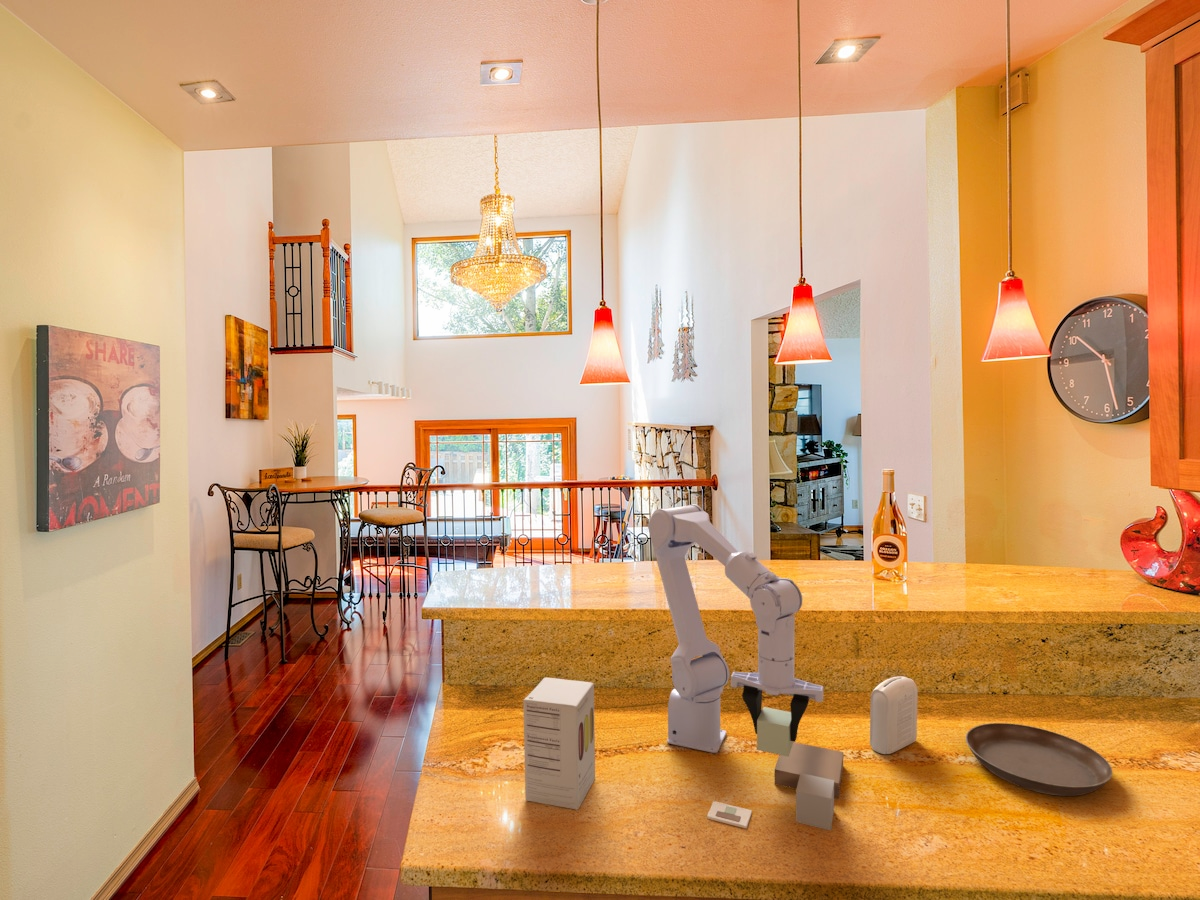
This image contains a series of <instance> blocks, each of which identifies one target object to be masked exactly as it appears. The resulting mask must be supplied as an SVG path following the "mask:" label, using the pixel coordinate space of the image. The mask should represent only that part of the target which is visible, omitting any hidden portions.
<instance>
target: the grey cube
mask: <svg viewBox="0 0 1200 900" xmlns="http://www.w3.org/2000/svg"><path fill="white" fill-rule="evenodd" d="M834 810H835V798H834V780H830V779H826V778H821V777H817V776H812V775H807V774H803V773H800V777H799V781H798V785H797V789H795V822H796V823H798V824H799V823H800V824H804V825H806V826H807V825H808V826H810V827H816V828H820V829H823V830H828V831H832V828H833V827H832V826H833V819H834V812H835V811H834Z"/></svg>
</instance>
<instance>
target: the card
mask: <svg viewBox="0 0 1200 900" xmlns="http://www.w3.org/2000/svg"><path fill="white" fill-rule="evenodd" d="M752 814H753V810H751V809H747V808H743V807H739V806H735V805H733V804H732V805H731V804H728V803H724V802H718V801H715V800H713V801H712V803H711V807H710V808H709V811H708V813H707V815H706V819H707V820H712V821H716V822H718V823H719V822H720V823H723V824H728V825H731V826H733V827H734V826H735V827H739V828H742V829H748V826H749V823H750V820H751V817H752Z"/></svg>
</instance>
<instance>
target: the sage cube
mask: <svg viewBox="0 0 1200 900" xmlns="http://www.w3.org/2000/svg"><path fill="white" fill-rule="evenodd" d="M790 735H791V711H787V710H782V709H776V708H771V707H768V706H763V708H761V713H760V715H759V717H758V719H757V734H756V751H757V750H758V751H761V752H766V753H769V754H770V753H771V754H775V755H778V756H779V755H783V756H787V757H789V754H790V751H791V748H792V745H793V742H794V741H791V737H790Z"/></svg>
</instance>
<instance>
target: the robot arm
mask: <svg viewBox="0 0 1200 900" xmlns="http://www.w3.org/2000/svg"><path fill="white" fill-rule="evenodd" d="M710 520H711V519H710V514H709V513H708V512H706V511H704V509H703V508H702V507H701V506H700V505H698V504H695V503H693V504H688V505H684V506H677V507H676V506H675V507H669V508H658V509H656V510H654V511H653V512H652V515H651V516H650V518H649V521H648V524H647V528H648V532H649V536H650V539H651V544H652V548H653V552H654V554H655V558H656V562H657V563H656V564H657V566H658V567H657V568H658V570H659V574H660V579H661V582H662V585H663V589H664V593H665V596H666V601H667V605H668V609H669V613H670V616H671V620H672V623H673V628H674V631H675V635H676V639H677V643H678V646H677V647H676V649H675V650H674V652H673V654H672V655H671V657H670V659H669V660H670V662H671V663H670V664H671V668H672V669H671V672H672V673H671V681H672V684H673V686H674V688H673V689H672V690H671V691H670V695H669V699H668V705H667V735H668V736H667V737H668V738H667V739H666V742H667V743H668V744H671V745H673V746H674V745H675V746H680V747H685V748H688V749H694V750H699V751H704V752H708V753H712V754H717V753H718V752H719V750H720V748H721V745H722V744H723V741H724V739H725V738H726V736H727V731H726V730H724V729H721V694H722V693H724V686H726V685H727V684H728V683H729V679H730V687H731V688H738V687H740V688H743V691H742V694H741V697H742V700H743V702H744V703H745V706H746V707H747V709H748V711H749V714H750V717H751V720H752V723H753V727H754V733H755V734H756V735H757V719H758V717H759V715H760V713H761V711H762V704H763V702H762V701H763V699H762V698H763V692H765V694H767V695H771V696H779V695H780V694H781V695H786V696H787V695H788V696H792V699H791V701H790V712H791V735H790V737H791V741H794V742H796V740H797V736H798V729H799V724H800V722H801V719H802V718H803V715H804V713H805V711H806V710H807V708H808V705H809V702H810V699H811V700H814V701H815V702H817V703H823V700H824V686H823V685H819V684H815V683H812V682H808V681H805V680H802V679H800V678H799V679H798V678H796V677H795V640H796V639H795V637H796V636H795V635H796V634H795V633H796V632H795V631H796V630H795V629H796V628H795V625H796V624H795V622H796V621H795V620H796V619H795V617H796V615H795V614H796V613H798V612H799V611H800V610H801V609H802V606H803V595H802V592H801V590H800V588H799V586H798V585H797V584H796V583H795V582H794V581H793V580H792V579H791V578H787V577H783V578H782V577H780V576H779V575H777V574H775V573H774V571H770V569H768V567H766V566H765V565H764V564H763V563H762V562H761V561H759V560H758V559H757V558H758V557H757V555H756V554H755V553H753V552H749V551H738V550H737V549H736V547H734V545H732V543H731V542H730V541H729V540H728V539H727V538H726V537H725V536H724V535H723V534H722V532H720V531H719V530H718V529H717V528H716V527H715V526H714V525H713V524H712V523H711V521H710ZM695 543H696V545H698V546H699V547H701V549H703V550H705V551H706V553H708V554H709V555H710V556H712V557H713V558H714V559H716V561H718V562H719V563H720V564H722V565H723V566H724V575H725V576H726V578H727V579H729V581H731V583H732V584H734V586H736V588H737V589H739V590H740V591H741V592H742V593H743V594H744V595H745V596H746V597H747V598H748V599H749V603H750V608H751V609H752V612H753V613H754V617H755V625H756V626H757V630H758V633H757V635H758V636H757V641H758V642H757V656H758V657H757V658H758V659H757V660H758V661H757V667H758V668H757V669H758V670H757V672H743V671H742V672H741V671H740V672H739V671H732V673H731V675H730V668H729V665H728V663H727V661H726V660H725V658H724V656H723V655H722V652H721V649H720V646H719V645H718V644H717V643H715V642H714V641H712V640H710V639H709V638H708V637H707V635H706V631H705V626H704V624H703V620H702V616H701V611H700V609H699V605H698V602H697V598H696V594H695V590H694V587H693V582H692V579H691V575H690V572H689V569H688V565H687V561H686V555H687V553H688V551H689V549H690V548H692V546H694V544H695Z"/></svg>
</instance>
